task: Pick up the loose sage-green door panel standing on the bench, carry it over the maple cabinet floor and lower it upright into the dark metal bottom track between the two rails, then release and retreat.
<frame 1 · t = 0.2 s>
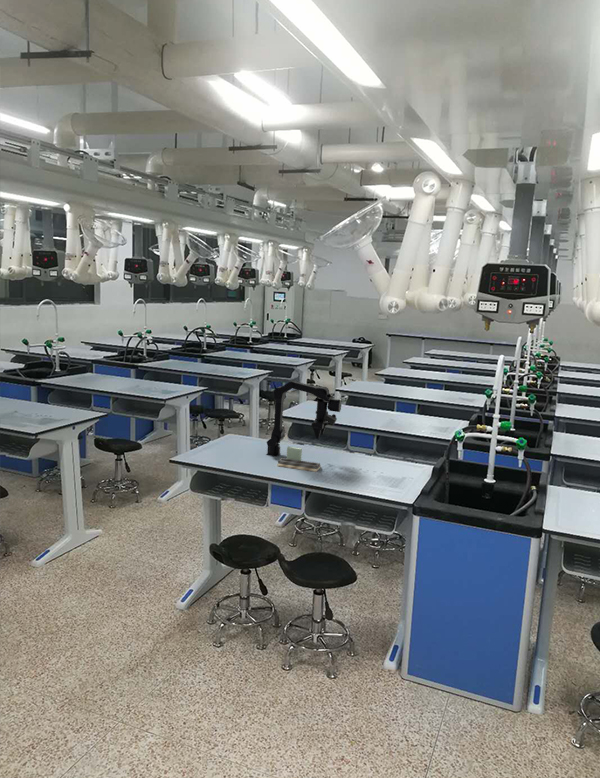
hand: (319, 436, 322), 14 cm above the lab bench, fingers open, 9 cm apart
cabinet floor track: (298, 466, 312), on the lab bench
door panel: (293, 460, 324), on the lab bench
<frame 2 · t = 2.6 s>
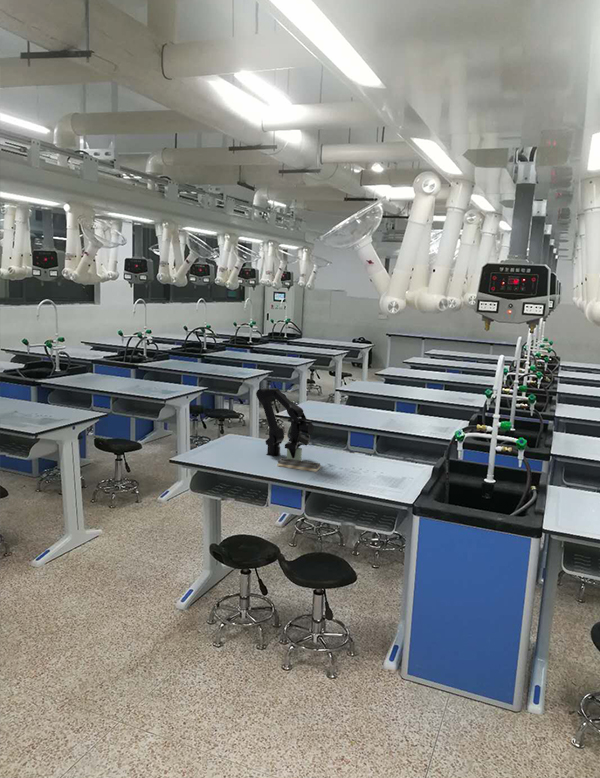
hand: (294, 457, 323), 2 cm above the lab bench, fingers closed on door panel, 2 cm apart
door panel: (293, 459, 324), on the lab bench, touching gripper
when the fingers open (3 cm above the lab bench, at t = 6.4 s): door panel stays where it is, resting on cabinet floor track.
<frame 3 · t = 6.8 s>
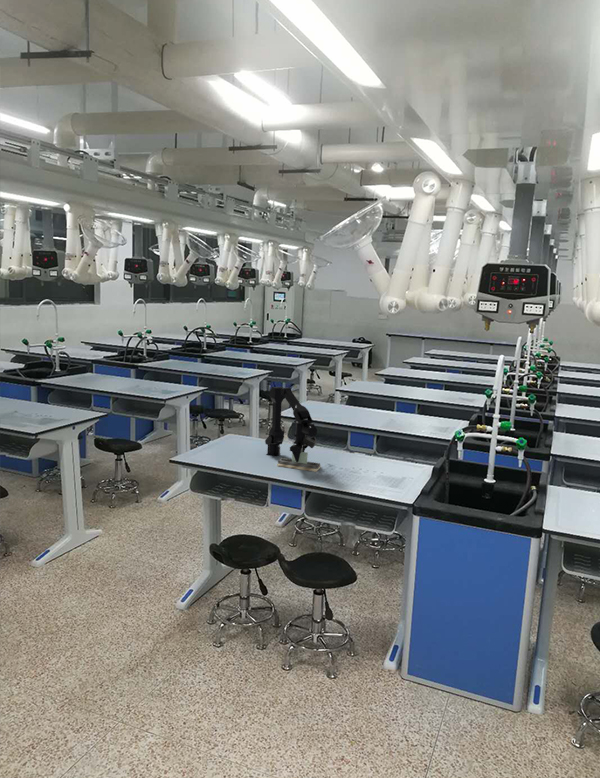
hand: (299, 460, 312), 3 cm above the lab bench, fingers open, 7 cm apart
door panel: (299, 464, 312), point 1 cm above the lab bench, touching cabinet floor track
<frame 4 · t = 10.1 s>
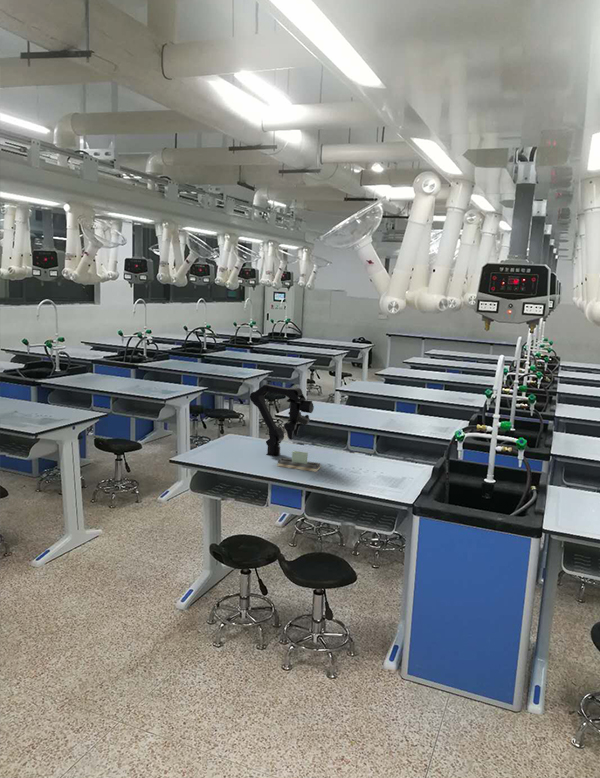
hand: (293, 437, 325), 12 cm above the lab bench, fingers open, 9 cm apart
nothing on the lab bench moved.
at the end: door panel inside the target area on the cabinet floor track (0.1 cm from its centre), point 1.0 cm above the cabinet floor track's base; door panel tilted 0°; the gripper is holding nothing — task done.
